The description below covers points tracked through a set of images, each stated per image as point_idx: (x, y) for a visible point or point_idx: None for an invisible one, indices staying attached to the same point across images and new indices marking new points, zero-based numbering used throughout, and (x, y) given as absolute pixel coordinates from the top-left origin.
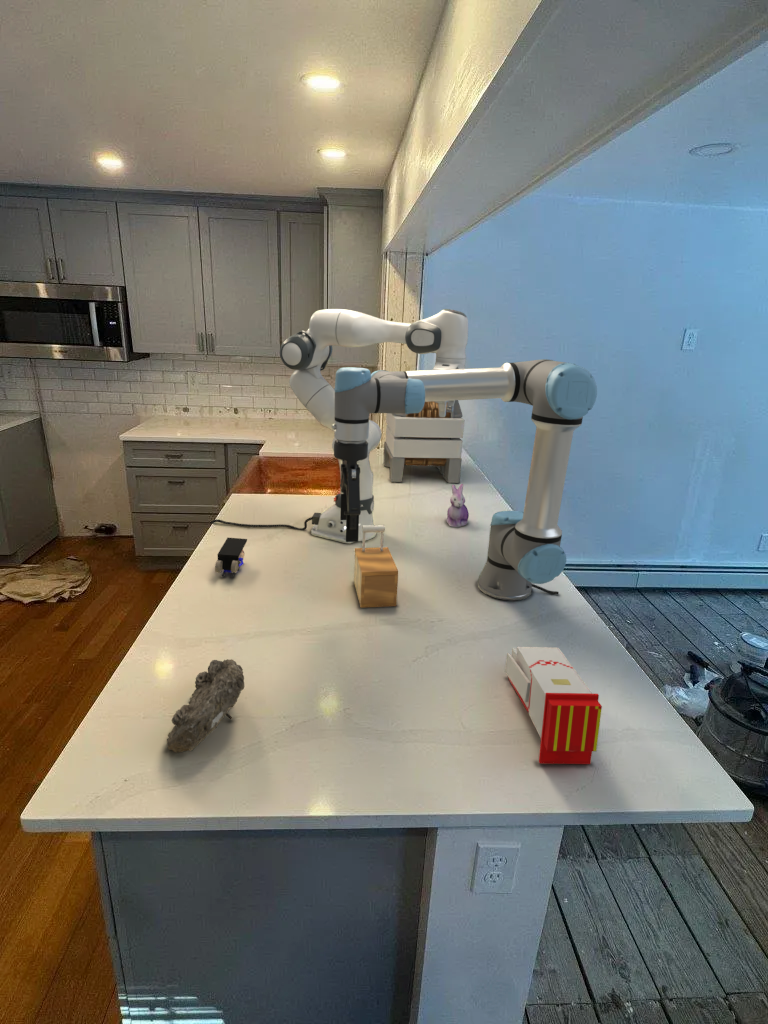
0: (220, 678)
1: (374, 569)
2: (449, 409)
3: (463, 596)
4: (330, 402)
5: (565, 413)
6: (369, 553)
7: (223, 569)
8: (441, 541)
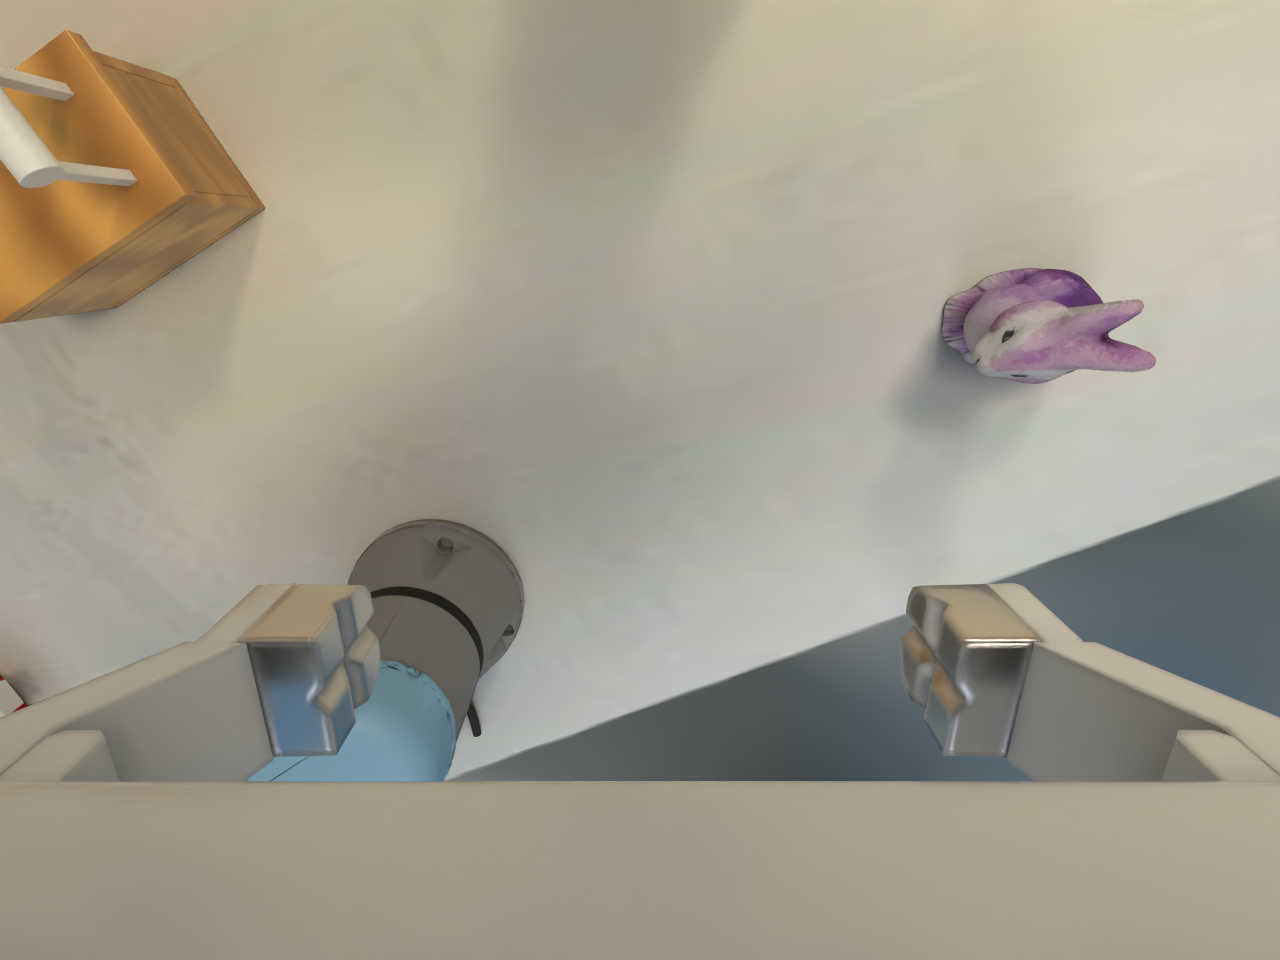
0: None
1: None
2: (933, 661)
3: (316, 493)
4: None
5: None
6: (61, 134)
7: None
8: (749, 309)
